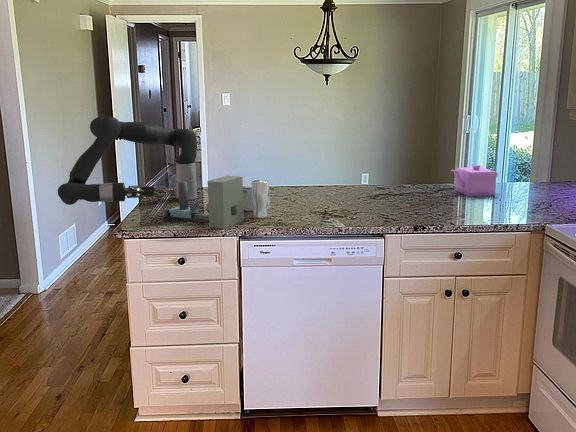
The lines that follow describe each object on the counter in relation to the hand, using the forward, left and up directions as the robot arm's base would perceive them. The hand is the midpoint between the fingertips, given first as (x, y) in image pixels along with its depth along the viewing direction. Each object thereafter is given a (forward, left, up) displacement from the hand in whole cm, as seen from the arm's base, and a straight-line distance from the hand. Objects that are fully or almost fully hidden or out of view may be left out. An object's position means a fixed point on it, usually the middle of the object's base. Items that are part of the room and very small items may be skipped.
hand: (154, 190), depth 225 cm
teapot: (+106, +110, -12) cm, 153 cm away
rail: (+13, +7, -12) cm, 19 cm away
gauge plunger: (+26, +7, -9) cm, 29 cm away
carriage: (+9, +7, -11) cm, 16 cm away
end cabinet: (+30, +7, -12) cm, 33 cm away
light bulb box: (+28, +33, -12) cm, 45 cm away
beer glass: (+36, +23, -12) cm, 44 cm away
